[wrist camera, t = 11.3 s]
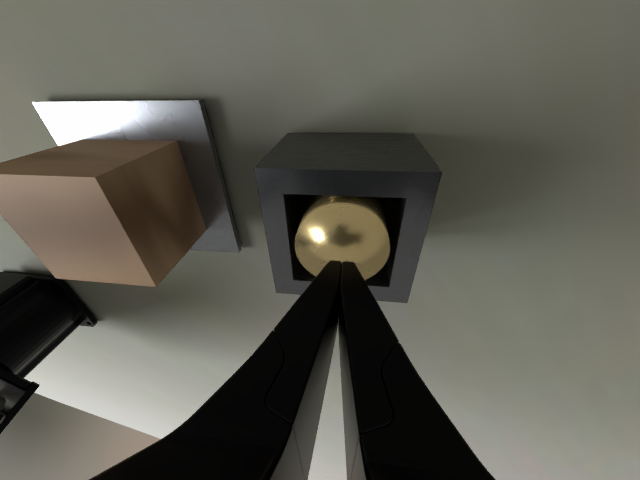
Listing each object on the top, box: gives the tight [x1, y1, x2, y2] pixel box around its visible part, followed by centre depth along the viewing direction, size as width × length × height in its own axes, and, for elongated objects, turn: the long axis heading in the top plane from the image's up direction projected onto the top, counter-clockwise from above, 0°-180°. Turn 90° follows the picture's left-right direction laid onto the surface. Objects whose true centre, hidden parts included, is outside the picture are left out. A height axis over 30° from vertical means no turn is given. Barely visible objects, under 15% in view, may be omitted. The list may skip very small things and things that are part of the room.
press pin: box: [295, 195, 390, 280], centre depth 12 cm, size 4×4×5 cm
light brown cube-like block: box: [0, 139, 206, 287], centre depth 13 cm, size 6×6×5 cm
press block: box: [254, 133, 442, 303], centre depth 12 cm, size 6×6×5 cm
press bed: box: [32, 99, 241, 252], centre depth 15 cm, size 9×9×1 cm
